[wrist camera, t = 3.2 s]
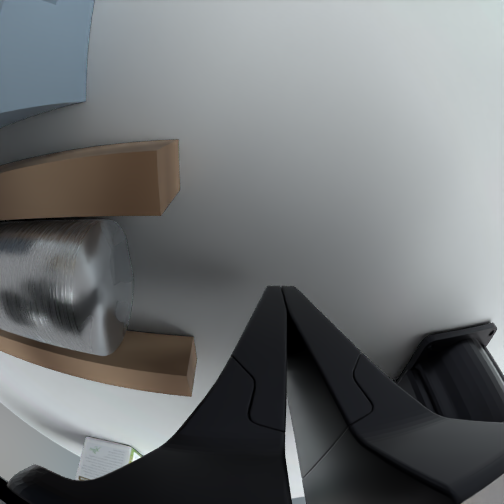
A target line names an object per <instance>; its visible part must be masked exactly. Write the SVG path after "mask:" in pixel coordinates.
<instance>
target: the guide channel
mask: <svg viewBox="0 0 504 504" xmlns="http://www.w3.org/2000/svg"><path fill="white" fill-rule="evenodd" d="M179 191H180V178H179V139H176V140H156V141H142V142H130V143H120V144H111V145H103V146H95V147H88V148H81V149H75V150H69V151H63V152H57V153H52V154H47V155H42V156H37V157H33V158H28V159H24V160H20V161H16V162H12V163H8V164H4V165H1V166H0V220H13V219H32V218H55V217H88V216H161V215H162V214H163V212H164V211H165V210H166V208H167V207H168V205H169V204H170V203H171V201H172V200H173V199H174V197H175V196H176V195H177V193H178V192H179ZM0 351H2V352H5V353H7V354H9V355H12V356H15V357H17V358H20V359H22V360H25V361H28V362H31V363H33V364H36V365H39V366H42V367H45V368H49V369H52V370H55V371H58V372H62V373H65V374H69V375H72V376H76V377H80V378H84V379H88V380H92V381H96V382H100V383H105V384H110V385H114V386H119V387H125V388H130V389H136V390H142V391H148V392H155V393H163V394H171V395H180V396H190V397H192V389H193V383H194V376H195V369H196V363H197V356H196V350H195V343H194V337H189V336H176V335H164V334H154V333H144V332H135V331H126V333H125V336H124V338H123V340H122V342H121V344H120V345H119V347H118V348H117V349H116V350H115V351H114V352H113V353H112V354H110V355H107V356H100V355H95V354H90V353H85V352H80V351H76V350H71V349H67V348H63V347H59V346H55V345H51V344H47V343H44V342H40V341H37V340H33V339H30V338H26V337H23V336H20V335H17V334H14V333H11V332H8V331H5V330H2V329H0Z"/></svg>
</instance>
